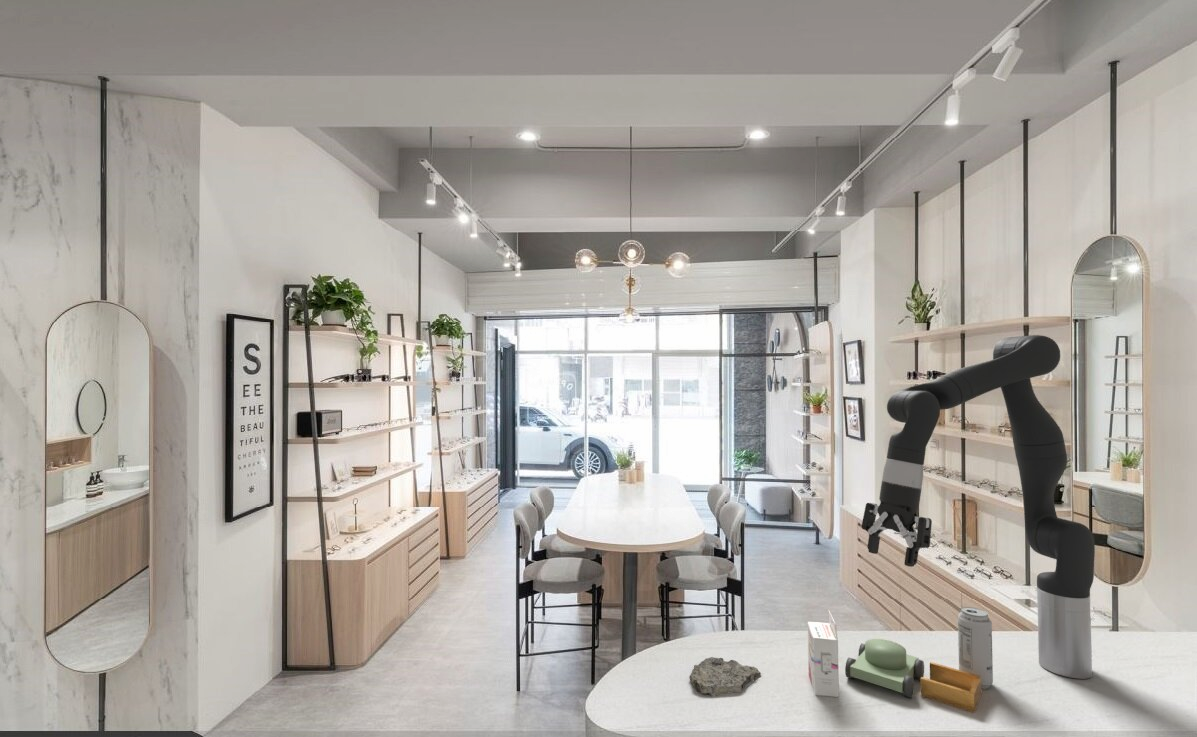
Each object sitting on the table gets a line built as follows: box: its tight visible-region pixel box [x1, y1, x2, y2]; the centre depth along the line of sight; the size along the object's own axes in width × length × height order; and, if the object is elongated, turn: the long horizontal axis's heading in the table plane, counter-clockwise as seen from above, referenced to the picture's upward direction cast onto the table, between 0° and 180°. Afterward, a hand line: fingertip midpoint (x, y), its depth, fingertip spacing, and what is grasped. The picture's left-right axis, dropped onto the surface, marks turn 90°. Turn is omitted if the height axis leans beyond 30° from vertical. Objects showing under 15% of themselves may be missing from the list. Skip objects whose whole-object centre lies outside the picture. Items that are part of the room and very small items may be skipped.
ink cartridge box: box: [807, 609, 840, 698], centre depth 119 cm, size 9×5×15 cm, turn 168°
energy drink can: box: [957, 606, 994, 690], centre depth 121 cm, size 6×6×15 cm
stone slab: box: [689, 656, 761, 697], centre depth 122 cm, size 12×17×3 cm
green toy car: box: [844, 638, 925, 699], centre depth 122 cm, size 14×12×6 cm
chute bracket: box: [920, 661, 983, 714], centre depth 116 cm, size 9×9×4 cm
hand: (890, 559), depth 119 cm, fingers open, 8 cm apart
